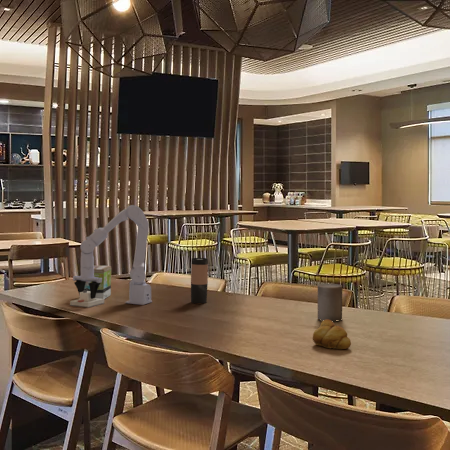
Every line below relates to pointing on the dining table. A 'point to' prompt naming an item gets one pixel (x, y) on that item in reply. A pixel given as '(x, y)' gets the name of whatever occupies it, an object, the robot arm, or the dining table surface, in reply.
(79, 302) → the socket plate
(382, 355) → the dining table surface
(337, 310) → the pillar candle
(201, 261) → the travel mug
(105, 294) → the tea box
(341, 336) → the bread roll
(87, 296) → the plug
